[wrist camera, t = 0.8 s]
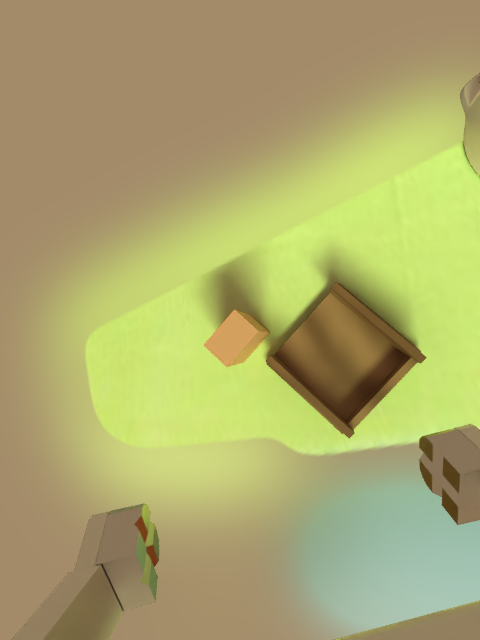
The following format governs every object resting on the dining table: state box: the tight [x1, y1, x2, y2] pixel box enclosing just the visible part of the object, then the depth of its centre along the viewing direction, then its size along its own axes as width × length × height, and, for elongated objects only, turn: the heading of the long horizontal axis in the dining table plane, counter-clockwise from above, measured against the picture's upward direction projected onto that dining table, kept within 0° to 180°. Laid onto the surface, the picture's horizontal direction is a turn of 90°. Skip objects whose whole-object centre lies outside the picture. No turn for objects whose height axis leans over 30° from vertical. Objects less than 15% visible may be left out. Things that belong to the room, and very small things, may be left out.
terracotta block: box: [204, 309, 270, 367], centre depth 44 cm, size 5×3×9 cm
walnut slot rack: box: [266, 283, 427, 438], centre depth 43 cm, size 13×12×5 cm
